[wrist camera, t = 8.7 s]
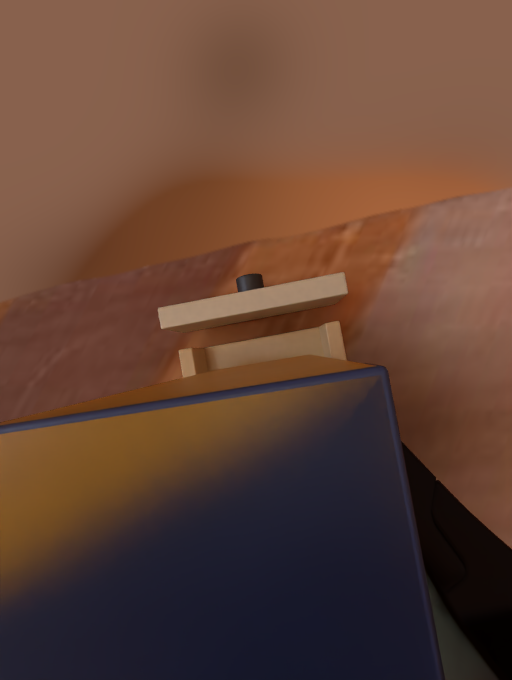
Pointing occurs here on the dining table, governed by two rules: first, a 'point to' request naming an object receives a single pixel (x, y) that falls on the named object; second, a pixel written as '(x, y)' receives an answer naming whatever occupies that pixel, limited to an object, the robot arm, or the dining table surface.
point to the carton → (215, 533)
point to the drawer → (256, 305)
